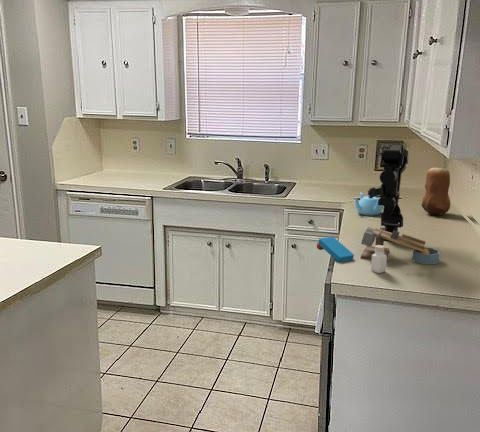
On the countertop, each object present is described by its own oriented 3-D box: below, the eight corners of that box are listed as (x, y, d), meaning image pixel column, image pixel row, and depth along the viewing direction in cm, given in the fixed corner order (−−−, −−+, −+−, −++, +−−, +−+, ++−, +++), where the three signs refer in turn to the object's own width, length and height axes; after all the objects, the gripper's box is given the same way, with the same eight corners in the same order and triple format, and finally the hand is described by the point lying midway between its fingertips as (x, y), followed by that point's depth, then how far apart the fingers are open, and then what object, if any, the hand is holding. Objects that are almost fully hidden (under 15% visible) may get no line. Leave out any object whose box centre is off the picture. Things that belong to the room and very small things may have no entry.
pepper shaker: (386, 271, 175) (387, 246, 173) (379, 274, 173) (380, 248, 171) (377, 268, 178) (378, 243, 176) (370, 270, 176) (371, 245, 174)
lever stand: (366, 248, 202) (367, 225, 200) (389, 250, 198) (390, 227, 196) (360, 258, 190) (361, 234, 187) (384, 261, 186) (385, 236, 184)
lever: (350, 269, 191) (324, 246, 205) (354, 254, 188) (327, 231, 202) (336, 272, 188) (310, 248, 202) (339, 257, 185) (314, 234, 199)
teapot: (386, 212, 264) (387, 193, 261) (380, 218, 251) (381, 198, 248) (359, 209, 270) (360, 191, 268) (352, 215, 257) (353, 196, 255)
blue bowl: (413, 254, 193) (414, 245, 192) (439, 257, 189) (440, 248, 188) (411, 262, 184) (411, 253, 183) (438, 265, 180) (439, 256, 179)
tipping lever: (364, 237, 199) (370, 221, 196) (420, 256, 191) (426, 239, 189) (360, 244, 191) (366, 226, 188) (418, 263, 183) (424, 246, 181)
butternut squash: (444, 211, 262) (448, 165, 256) (452, 217, 249) (457, 169, 243) (418, 211, 264) (421, 165, 258) (424, 217, 251) (428, 169, 245)
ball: (431, 249, 187) (427, 258, 188) (420, 245, 188) (417, 254, 189) (430, 252, 183) (427, 261, 184) (419, 248, 184) (416, 258, 186)
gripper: (373, 176, 205) (371, 211, 209) (365, 183, 189) (363, 222, 193) (400, 177, 201) (398, 214, 205) (395, 185, 184) (392, 224, 188)
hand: (387, 218), depth 198 cm, fingers closed
